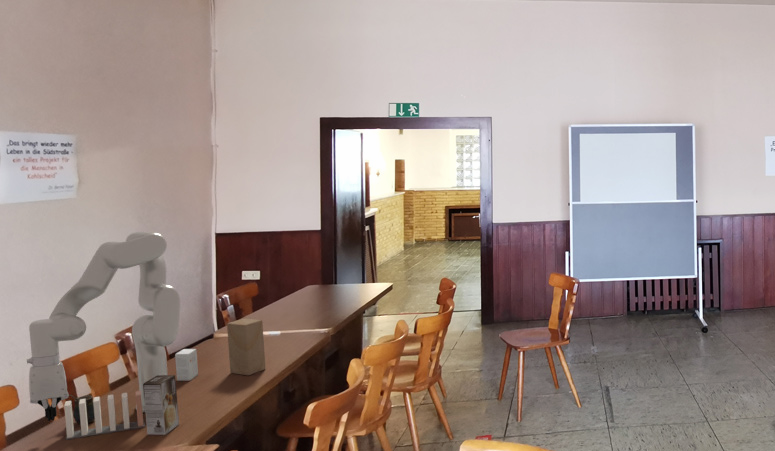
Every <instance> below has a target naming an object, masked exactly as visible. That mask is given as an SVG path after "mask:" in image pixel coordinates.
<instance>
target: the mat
mask: <svg viewBox="0 0 775 451" xmlns="http://www.w3.org/2000/svg"><path fill="white" fill-rule="evenodd" d="M142 428H143V429H144V428H146V419H143V426H140V427H138V420H137V421H131V422H130V428H127V429H124V423H120V424H119V423H118V424H116V430H115V431H110V425H106V426H102V433H96V427H93V428H88V434H87V435H83V436H82V433H81V429H79V430H74V434H73V437H71V438H67V434H66V435H65V441H66V440H67V441H68V440H73V439H79V438H80V439H81V438H84V437H91V436H99V435H103V434H111V433H116V432H123V431H124V432H125V431H130V430H135V429H142Z"/></svg>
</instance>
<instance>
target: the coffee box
mask: <svg viewBox="0 0 775 451" xmlns="http://www.w3.org/2000/svg"><path fill="white" fill-rule="evenodd" d="M176 382H177V379H176V375H175V374H171V375H169V374H168V375H157V376H155V377H154V378H152V379H150V380H149V381H147V382H145V383H144V384H143V390H144V401H145V412H144V413H145V424H146V434H147V435H154V436H155V435H157V436H158V435H159V436H160V435H161V436H162V435H163V436H165V435H167V434H169V433H170V432H171V431H173V430H174V428H177V426H179V425H180V418H179V417H180V416H179V406H178V393H177V384H176Z"/></svg>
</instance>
